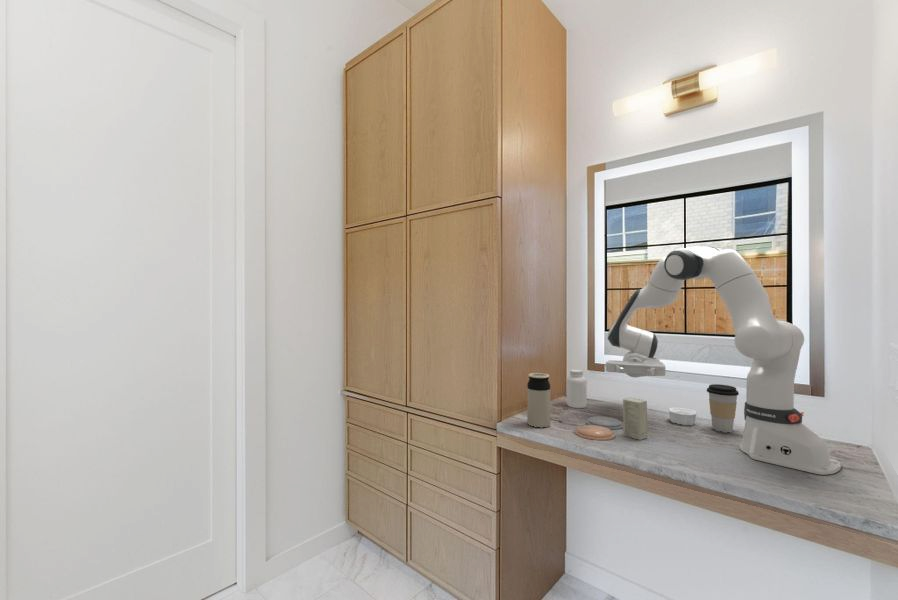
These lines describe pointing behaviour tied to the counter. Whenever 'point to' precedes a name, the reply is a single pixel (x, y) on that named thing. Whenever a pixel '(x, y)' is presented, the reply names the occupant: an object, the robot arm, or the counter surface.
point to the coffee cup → (722, 406)
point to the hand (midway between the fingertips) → (634, 371)
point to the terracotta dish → (594, 432)
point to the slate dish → (605, 422)
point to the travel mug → (538, 400)
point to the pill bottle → (576, 389)
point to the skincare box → (635, 418)
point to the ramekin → (682, 416)
